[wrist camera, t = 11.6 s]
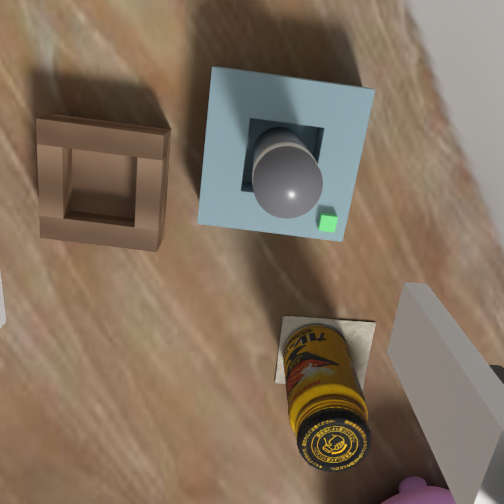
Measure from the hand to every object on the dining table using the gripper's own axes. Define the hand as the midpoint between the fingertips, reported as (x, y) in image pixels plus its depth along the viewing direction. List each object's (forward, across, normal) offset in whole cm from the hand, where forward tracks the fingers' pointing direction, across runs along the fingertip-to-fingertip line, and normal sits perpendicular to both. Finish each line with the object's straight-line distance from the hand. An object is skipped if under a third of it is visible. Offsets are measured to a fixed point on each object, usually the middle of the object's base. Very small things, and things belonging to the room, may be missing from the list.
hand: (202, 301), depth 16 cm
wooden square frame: (+24, -9, -3) cm, 26 cm away
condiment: (+24, +10, -18) cm, 31 cm away
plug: (+23, +4, +1) cm, 23 cm away
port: (+24, +4, +1) cm, 24 cm away
